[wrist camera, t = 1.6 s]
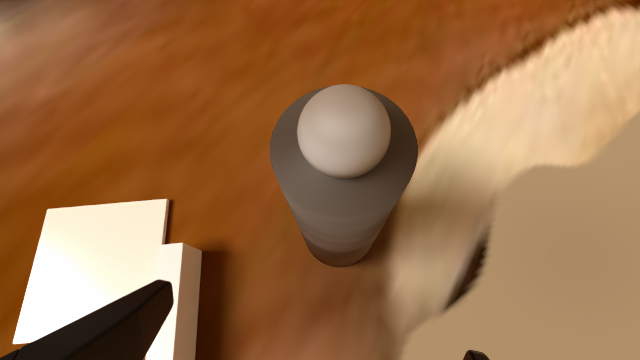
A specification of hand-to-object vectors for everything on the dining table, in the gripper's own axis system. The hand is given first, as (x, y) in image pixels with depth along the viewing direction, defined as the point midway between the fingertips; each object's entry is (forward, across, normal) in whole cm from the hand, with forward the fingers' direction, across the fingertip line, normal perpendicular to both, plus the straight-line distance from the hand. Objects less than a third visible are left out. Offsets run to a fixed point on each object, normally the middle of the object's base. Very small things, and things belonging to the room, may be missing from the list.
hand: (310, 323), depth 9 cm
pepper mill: (+12, 0, +5) cm, 13 cm away
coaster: (+8, +16, +9) cm, 20 cm away
